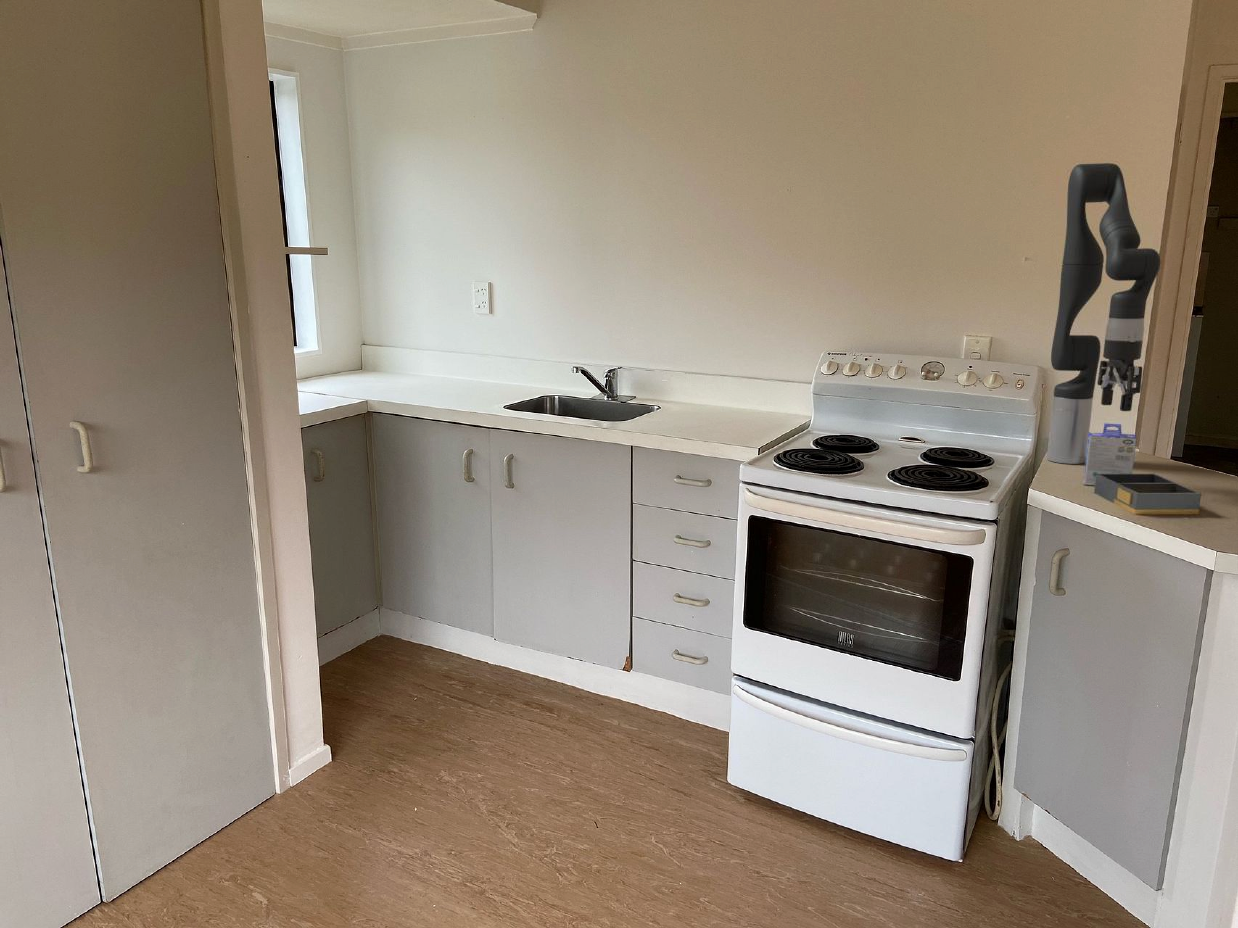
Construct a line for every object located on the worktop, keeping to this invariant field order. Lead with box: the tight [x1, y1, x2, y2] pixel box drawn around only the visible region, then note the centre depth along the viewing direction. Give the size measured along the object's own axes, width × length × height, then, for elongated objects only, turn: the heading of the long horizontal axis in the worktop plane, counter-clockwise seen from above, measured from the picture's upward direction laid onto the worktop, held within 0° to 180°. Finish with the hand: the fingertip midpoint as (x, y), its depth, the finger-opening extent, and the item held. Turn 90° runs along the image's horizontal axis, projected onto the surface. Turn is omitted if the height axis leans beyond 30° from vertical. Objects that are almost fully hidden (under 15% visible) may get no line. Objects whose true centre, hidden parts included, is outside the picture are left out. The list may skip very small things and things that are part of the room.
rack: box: [1093, 473, 1202, 515], centre depth 185 cm, size 17×13×4 cm
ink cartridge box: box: [1082, 422, 1137, 486], centre depth 200 cm, size 10×6×14 cm, turn 65°
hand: (1115, 408), depth 197 cm, fingers open, 8 cm apart
